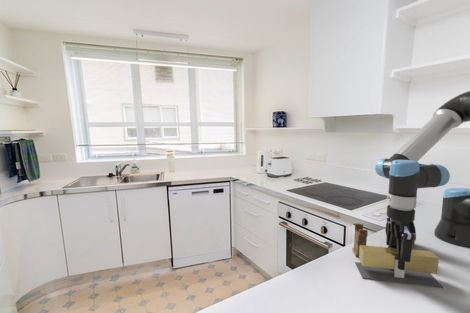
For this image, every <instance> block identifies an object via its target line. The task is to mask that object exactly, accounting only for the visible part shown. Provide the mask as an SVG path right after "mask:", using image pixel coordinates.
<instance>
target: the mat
mask: <svg viewBox="0 0 470 313" xmlns="http://www.w3.org/2000/svg"><path fill="white" fill-rule="evenodd" d="M354 264H355V266H356V268H357V269H358V272H359V274H360V275H361V279H364V280H373V281H374V280H375V281H380V282H388V283H390V282H391V283H396V284H405V285H414V286H421V287H428V288H429V287H431V288H438V289H444V286H443V285H442V284H441V283H440V282H439V281H438V280H437V279H436V278H435V277H434V276H433V275H432V273H423V272H414V271H405V273H404V278H398V277H394V269H387V268H378V267H369V266H362V264H361V262H360V261H358V262H357V261H354Z"/></svg>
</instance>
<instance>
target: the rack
mask: <svg viewBox="0 0 470 313" xmlns="http://www.w3.org/2000/svg"><path fill="white" fill-rule="evenodd" d="M368 233H369V232H368V229H364V224H363V223H356V222H355V223H354V241H353V247H352V248H351V250H352V253H353V254H354V256H355V257H356V258H359V250H360V245H366V246H367V241H368V240H367V239H368ZM413 234H414V238H413V241H412V250H415V242H416V241H417V234H415V233H413Z"/></svg>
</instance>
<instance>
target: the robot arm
mask: <svg viewBox="0 0 470 313" xmlns="http://www.w3.org/2000/svg"><path fill="white" fill-rule="evenodd" d="M466 122H470V90H468V91H465V92H463V93H461V94H458V95H456V96H454V97H453V98H451V99H449V100H448V101H447V102H445V103H444V104H442V105H441V106H440V107H439V108H437V109H436V110H435V111H434V112H433V114H432V118H431V119H429V121H427V122H426V123H425V124H424V125H423V126H422V127H421V128H419V130H418V131H417V132H416V133H415V134H414V135H413V136H411V137H410V138H409V139H408V141H407V140H406V142H405V143H404V144H403V145H402V146H401V147H400V148H399V149H398V150H397V151H395V153H394V154H393V155H391V157H389V158H387V157H386V158H380V159H379V160H377V162H376V164H375V166H374V170H375V173H376V174H377V175H378V176H380V177H382V178H385V179H388V183H389V184H388V191H387V192H388V195H387V196H386V200H387V206H386V216H387V218H386V223H387V236H386V242H385V243H386V244H385V245H386V246H388V248H397V257H394V258H395V267H394V277H398V278H404V273H405V262H410V259H411V250H412V241H413V238H414V234H413V233H410V232H409V223H410V222H412V221H413V222H414V221H415V217H416V210H415V209H416V207H417V198H418V196H417V195H418V194H417V193H418V189H427V188H438V187H443V186H445V185H447V184H448V183H449V181H450V179H451V174H450V172H449V170H448V169H447V167H445V166H444V165H441V164H433V163H431V164H426V163H425V164H423V163H419V161H420V160H421V159H423V157H424V156H425V155H426V154H427V153H428V152H429V151H430V150H431V149H432V148H433V147H434V146H435V145H436V144H437V143H438V142H440V141H441V140H442V138H444V137H445V136H446V135H447V134H448V133H449V132H451V130H452V129H455V128H458V127H459V126H461V125H462V124H463V123H466ZM441 205H442V206H441V213H440V214H441V216H440V220H439V222H438V223H437V225H436V227H435V229H434V236H435V237H436V238H437V239H439V240H441V241H443V242H445V243H448V244H451V245H455V246H460V247H464V248H470V188H468V187H450V188H446V189H445V190H444V192H443V196H442V204H441Z"/></svg>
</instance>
